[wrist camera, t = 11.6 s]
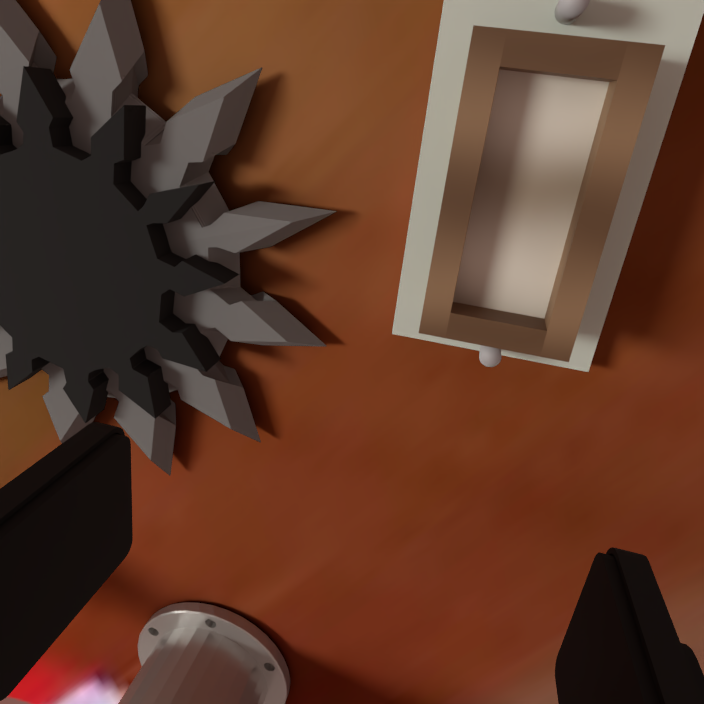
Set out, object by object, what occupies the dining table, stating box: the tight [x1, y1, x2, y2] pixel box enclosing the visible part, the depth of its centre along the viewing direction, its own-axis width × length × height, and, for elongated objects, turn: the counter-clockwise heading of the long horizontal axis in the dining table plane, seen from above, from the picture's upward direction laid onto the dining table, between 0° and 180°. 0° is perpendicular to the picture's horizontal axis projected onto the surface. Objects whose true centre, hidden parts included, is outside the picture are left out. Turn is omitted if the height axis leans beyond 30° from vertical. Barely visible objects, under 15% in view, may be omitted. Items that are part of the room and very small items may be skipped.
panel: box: [392, 0, 704, 372], centre depth 25 cm, size 16×10×4 cm, turn 173°
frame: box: [419, 25, 665, 362], centre depth 24 cm, size 12×6×4 cm, turn 173°
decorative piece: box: [0, 0, 337, 475], centre depth 32 cm, size 30×4×30 cm
